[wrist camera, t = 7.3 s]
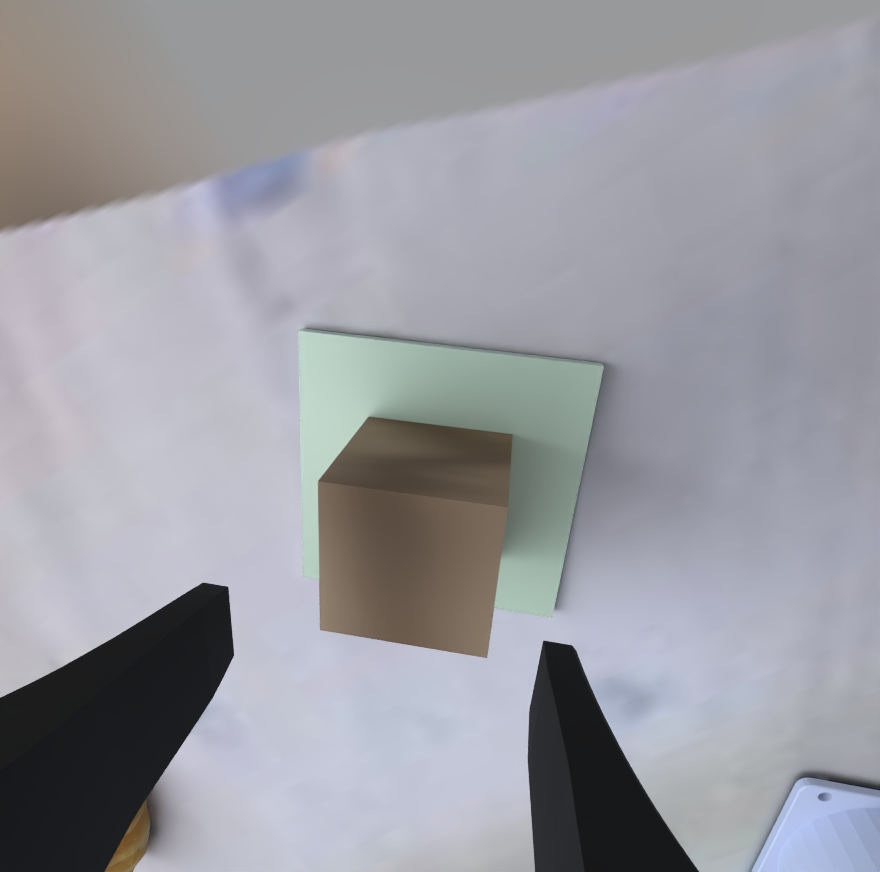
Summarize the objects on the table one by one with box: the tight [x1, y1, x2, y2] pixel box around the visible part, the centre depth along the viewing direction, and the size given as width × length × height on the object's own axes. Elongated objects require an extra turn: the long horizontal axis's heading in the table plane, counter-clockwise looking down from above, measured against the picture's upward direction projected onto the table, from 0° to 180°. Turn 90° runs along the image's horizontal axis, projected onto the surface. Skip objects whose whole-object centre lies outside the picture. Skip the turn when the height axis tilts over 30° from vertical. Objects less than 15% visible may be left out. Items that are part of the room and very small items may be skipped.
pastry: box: [105, 799, 151, 872], centre depth 29 cm, size 9×7×4 cm
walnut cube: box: [318, 417, 513, 658], centre depth 17 cm, size 5×5×5 cm
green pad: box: [298, 329, 604, 618], centre depth 20 cm, size 10×10×1 cm
